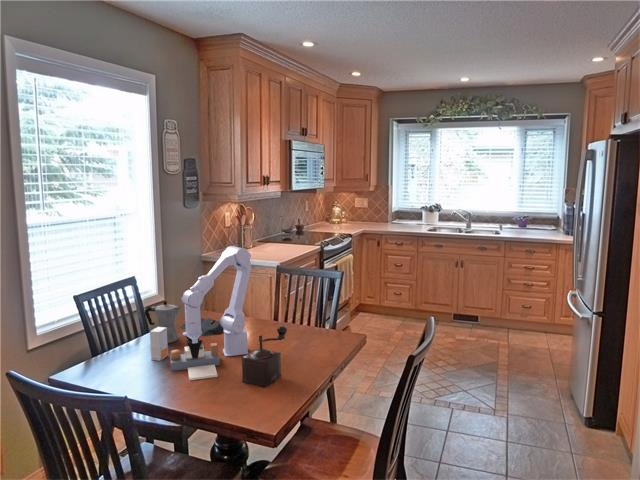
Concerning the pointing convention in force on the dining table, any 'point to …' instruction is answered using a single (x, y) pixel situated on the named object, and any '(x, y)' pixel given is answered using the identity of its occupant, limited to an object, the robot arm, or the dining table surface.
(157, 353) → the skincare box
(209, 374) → the tile
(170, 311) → the coffeepot
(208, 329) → the dark slate chunk
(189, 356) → the lever cap
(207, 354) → the plane body
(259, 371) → the manual coffee grinder
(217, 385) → the dining table surface
